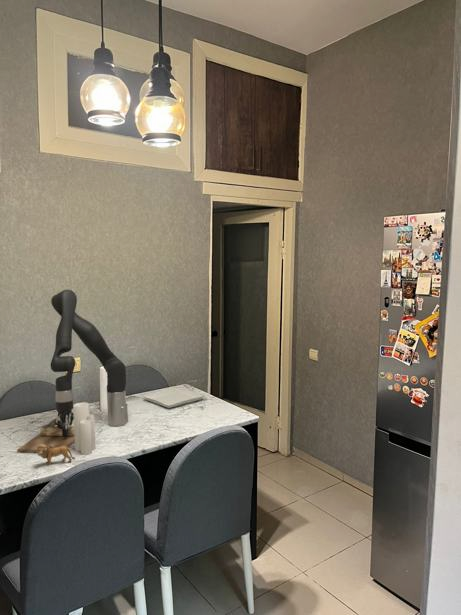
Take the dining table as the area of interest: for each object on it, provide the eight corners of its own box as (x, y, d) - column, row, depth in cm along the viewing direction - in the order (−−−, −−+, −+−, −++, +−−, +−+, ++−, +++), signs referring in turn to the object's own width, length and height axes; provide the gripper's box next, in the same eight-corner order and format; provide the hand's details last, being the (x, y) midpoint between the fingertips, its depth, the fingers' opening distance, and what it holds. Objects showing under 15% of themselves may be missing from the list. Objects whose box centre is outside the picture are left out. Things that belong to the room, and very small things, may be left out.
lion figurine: (37, 469, 184) (36, 447, 183) (36, 464, 189) (35, 443, 188) (76, 461, 190) (75, 440, 190) (74, 457, 195) (73, 436, 194)
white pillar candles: (72, 448, 204) (70, 404, 202) (87, 444, 209) (85, 401, 207) (84, 455, 196) (82, 410, 194) (100, 450, 201) (98, 406, 199)
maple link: (39, 435, 215) (38, 426, 215) (43, 432, 219) (43, 423, 219) (73, 436, 214) (73, 427, 213) (77, 433, 218) (76, 424, 217)
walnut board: (88, 430, 226) (87, 415, 226) (61, 453, 199) (60, 436, 198) (49, 429, 228) (48, 414, 228) (17, 452, 201) (16, 435, 200)
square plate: (178, 392, 294) (178, 386, 293) (206, 401, 274) (205, 394, 273) (142, 401, 275) (141, 395, 275) (168, 411, 255) (168, 404, 255)
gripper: (62, 403, 204) (63, 442, 205) (79, 396, 216) (81, 432, 217) (47, 402, 206) (49, 440, 207) (66, 395, 218) (67, 431, 219)
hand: (65, 436), depth 212 cm, fingers closed
